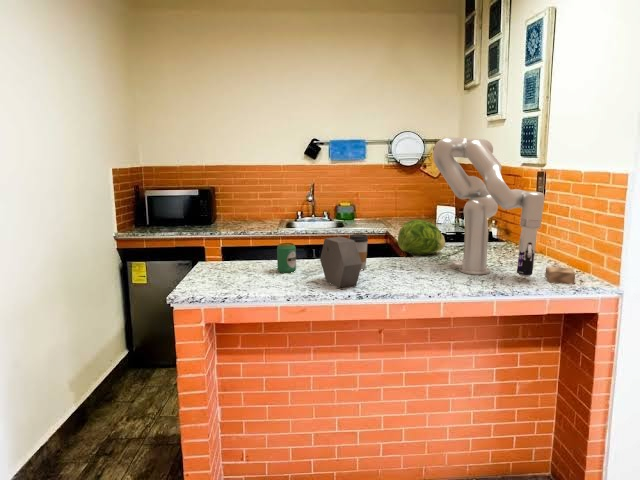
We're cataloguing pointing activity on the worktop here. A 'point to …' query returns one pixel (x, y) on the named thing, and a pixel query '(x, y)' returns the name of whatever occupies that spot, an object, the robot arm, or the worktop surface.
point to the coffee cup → (361, 247)
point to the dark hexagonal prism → (340, 261)
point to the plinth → (560, 275)
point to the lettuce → (420, 238)
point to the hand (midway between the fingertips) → (525, 267)
